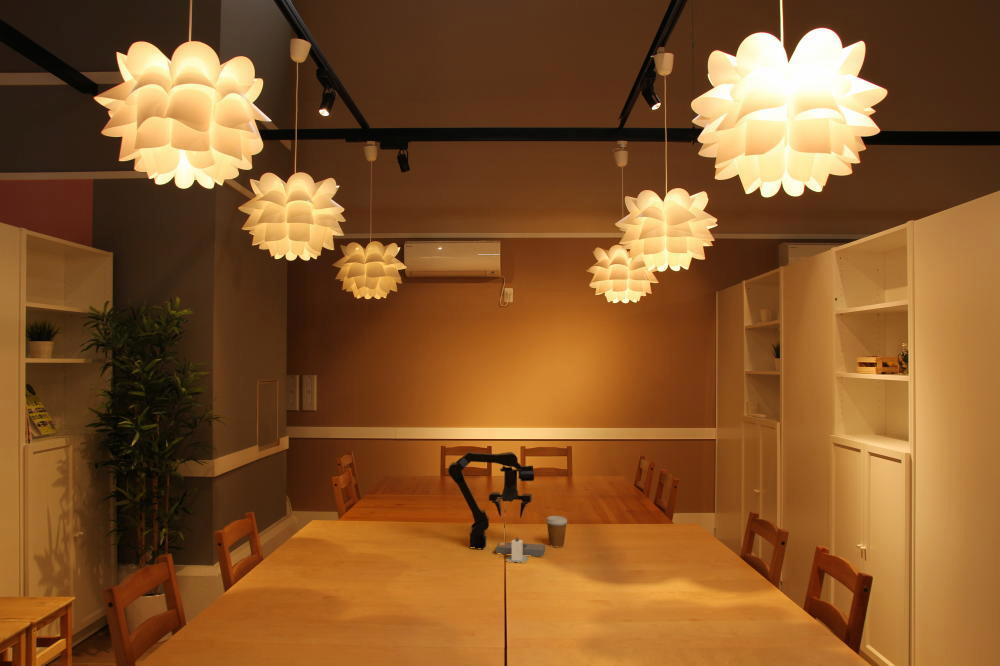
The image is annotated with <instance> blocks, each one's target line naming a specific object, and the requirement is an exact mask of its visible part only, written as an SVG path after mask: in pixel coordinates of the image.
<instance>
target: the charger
mask: <svg viewBox="0 0 1000 666" xmlns="http://www.w3.org/2000/svg"><path fill="white" fill-rule="evenodd" d="M511 543H512V560H522V558H523V543H524V542H523V539H519V537H515V539H512V540H511Z"/></svg>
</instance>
